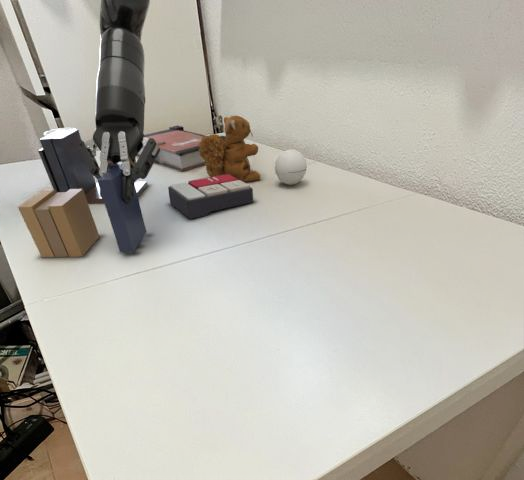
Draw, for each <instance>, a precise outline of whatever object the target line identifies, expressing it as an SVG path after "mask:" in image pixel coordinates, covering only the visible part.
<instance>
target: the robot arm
mask: <svg viewBox="0 0 524 480" xmlns="http://www.w3.org/2000/svg"><path fill="white" fill-rule="evenodd" d="M150 4H151V0H100V7H99V35H100V44H99V62H98V70H97V75H96V89H95V91H96V92H95V111H94V112H95V113H94V120H95V121H94V123H95V130H94V132H93V134H92V138H91V139H89V140H87V141H84V140H82V139H81V140H80V141H78V143H77V146H78V148H79V150H80V152H81V154H82V157H83V159H84V161H85V163H86V165H87V167H88V170H89V171H90V172H91V173H92V174H93V176H94V178H95V179H96V180H98V179H99V178H100V177H101V176H103V175H104V174H105V173H106V172H107V171H108V170H110V169H111V168H112V167H113V166H115V165H116V164H119V163H121V164H122V167H123V174H124V177H122V185H121V199H122V201H123V202H124V203H125V204H131V200H133V199H134V185H135V182H137V181H138V180H140V179H141V180H145V179H146V178H147V177H148V175H149V173H150V171H151V169H152V167H153V166H154V164H155V163H154V162H155V160H156V158H157V156H158V154H159V152H160V148H159V146H158V144H157V143H156V141H155V140H154V139H153V138H150V139H147V138H145V136H144V135H145V134H144V132H145V109H146V107H145V106H146V105H145V104H146V87H145V63H146V62H145V50H144V46H143V44H142V34H143V30H144V25H145V21H146V18H147V15H148V13H149V8H150ZM97 148H98V149H99V151H100V153H99V162H100V163H99V164H98V161H97V159H96V157H97ZM141 149H143V151H142V153H141V155H140V156H138V158H136V157H137V156H136V155H137V154H138V153H139V151H140V150H141ZM136 159H137V160H136ZM100 196H101V198H102V199H103V197H102V194H101V191H100Z"/></svg>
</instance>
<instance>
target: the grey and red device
mask: <svg viewBox="0 0 524 480" xmlns="http://www.w3.org/2000/svg"><path fill="white" fill-rule="evenodd" d="M167 190H168V197H169V203H170V204H171V205H172V206H173V207H174V208H175V209H177V210H178V211H179V212H181V214H183V215H184V216H185V217H187V219H190V220H192V219H197V218H201V217H206V216H208V215H209V214H210V213H211V212H216V211H220V210H225V209H229V208H233V207H238V206H243V205H247V204H252V203H254V193H253V192H254V189H253V187H251V186H250V184H248V183H247V182H242V181H240V180H238V179H237V178H235V177H233V176H231V175H229V174H226V175H220V176H214V177H210V176H209V177H203V178H197V179H192V180H188V182H180V183H175V184H171V185H169V186H168V187H167Z"/></svg>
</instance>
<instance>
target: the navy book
mask: <svg viewBox="0 0 524 480" xmlns="http://www.w3.org/2000/svg"><path fill="white" fill-rule="evenodd" d="M122 177H124V174H123V167H122V163H118V164H116V165H115V166H113V167H112V168H111V169H110V170H108V171H107V172H106V173H105V174H104V175H103V176H101V177H100V178H99V179H96V181H97V183H98V184H99V188H100V191H101V194H102V197H103V200H104V203H103V204H104V207H105V210H106V213H107V216H108V219H109V222H110V226H111V229H112V231H113V235H114V238H115V240H116V241H115V242H116V244H117V248H118V250H119V253H134V251H135V250H136V249H137V247H138V246H139V244H140V243H141V241H142V240H143V238H144V237H145V235H146V234H147V227H146V223H145V220H144V216H143V212H142V208H141V205H140V200H139V197H138V196H137V192H136V189H135V185H134V199H133V200H131V204H125V203H124V202H123V201H122V199H121V185H122Z"/></svg>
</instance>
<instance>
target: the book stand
mask: <svg viewBox="0 0 524 480" xmlns="http://www.w3.org/2000/svg"><path fill="white" fill-rule="evenodd" d="M80 140H82V136H81V133H80V130H79V129H76V130H57V131H55V132H53V133H51V134H49V135H47V136H45V135H44V136H43V137H41V138H40V139H39V142H40V144H41V148H40V149H38V150H37V152H38V155H39V157H40V160H41V162H42V164H43V167H44V170H45V172H46V175H47V176H48V179H49V183H50V184H51V186H52V190H55V191H56V193H57V192H67V191H68V190H70V189H83V191H84V193H85V196H86V199H87V202H88V204H105V203H104V200H103V199H102V198H101V196H100V188H99V184H98V182H96V180H95V179H96V178H95V176H94V175H93V174H92V173H91V172H90V171H89V170H88V167H87V165H86V163H85V161H84V159H83V157H82V154H81V152H80V150H79V148H78V146H77V143H78V141H80ZM147 187H149V183H148V181H136V182H135V189H136V192H137V196H138V198H139V197H140V196H141V194H142V193H143V192H144V191H145V190H146V189H147Z"/></svg>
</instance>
